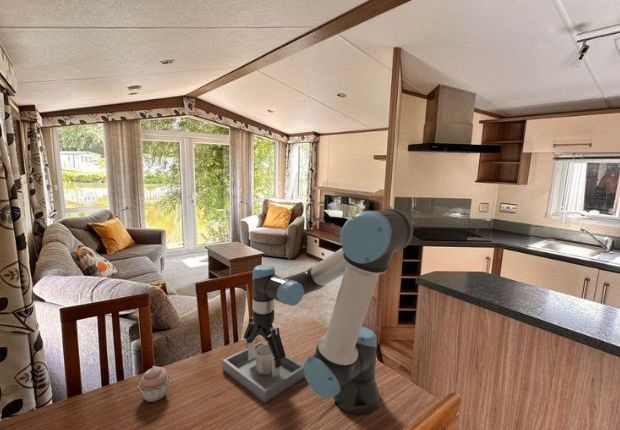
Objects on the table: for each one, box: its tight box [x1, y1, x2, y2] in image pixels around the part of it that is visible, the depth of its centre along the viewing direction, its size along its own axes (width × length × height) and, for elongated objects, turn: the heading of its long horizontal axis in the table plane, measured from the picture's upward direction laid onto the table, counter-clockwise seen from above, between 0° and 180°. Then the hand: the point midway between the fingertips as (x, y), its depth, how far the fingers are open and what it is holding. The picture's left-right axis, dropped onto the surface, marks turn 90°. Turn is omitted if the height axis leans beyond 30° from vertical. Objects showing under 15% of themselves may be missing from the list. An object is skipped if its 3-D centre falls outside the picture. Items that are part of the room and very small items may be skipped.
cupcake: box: [137, 365, 172, 403], centre depth 99 cm, size 9×9×10 cm
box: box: [222, 341, 306, 404], centre depth 112 cm, size 24×18×4 cm
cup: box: [255, 343, 277, 375], centre depth 111 cm, size 11×8×8 cm
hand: (263, 366), depth 112 cm, fingers open, 13 cm apart
